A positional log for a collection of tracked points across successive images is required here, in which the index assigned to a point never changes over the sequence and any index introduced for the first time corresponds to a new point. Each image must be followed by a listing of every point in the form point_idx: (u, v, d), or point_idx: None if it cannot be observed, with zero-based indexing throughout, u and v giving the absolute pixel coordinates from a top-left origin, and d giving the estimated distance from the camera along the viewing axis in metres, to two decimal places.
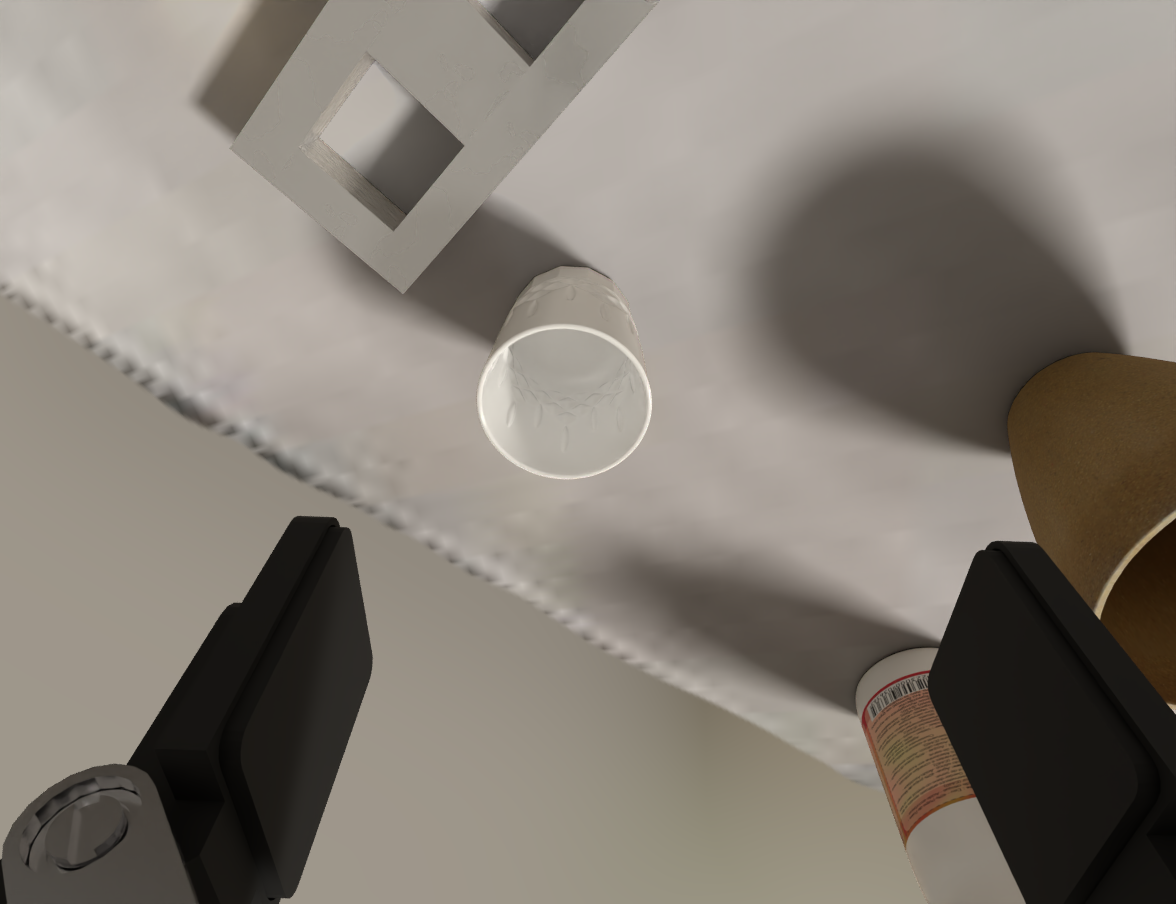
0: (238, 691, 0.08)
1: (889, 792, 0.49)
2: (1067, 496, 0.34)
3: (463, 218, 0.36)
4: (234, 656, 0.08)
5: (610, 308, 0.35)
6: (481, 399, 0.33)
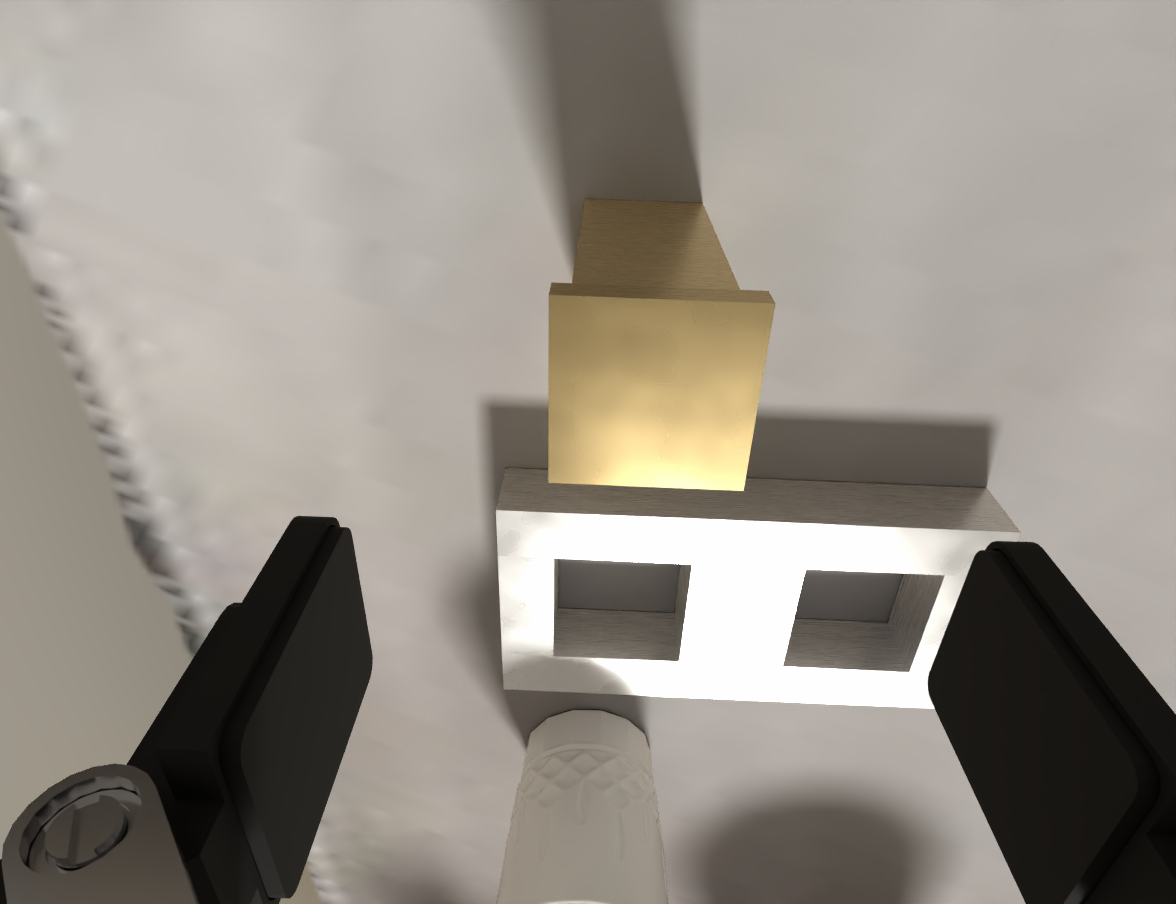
0: (238, 690, 0.08)
1: None
2: None
3: (617, 690, 0.33)
4: (234, 656, 0.08)
5: (663, 854, 0.35)
6: None
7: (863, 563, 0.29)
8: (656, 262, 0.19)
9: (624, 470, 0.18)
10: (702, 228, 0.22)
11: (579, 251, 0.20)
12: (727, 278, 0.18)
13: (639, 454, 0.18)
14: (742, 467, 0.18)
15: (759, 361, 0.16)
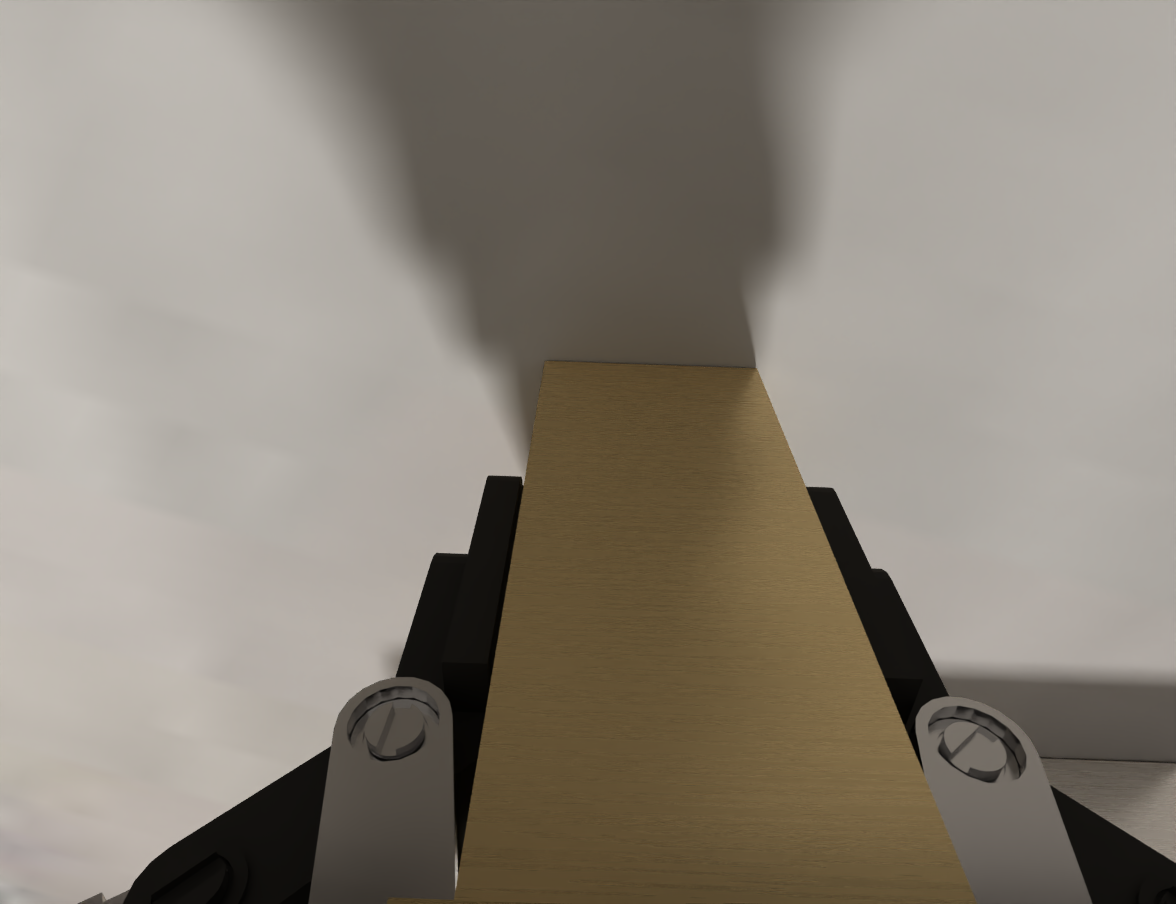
0: (496, 616, 0.09)
1: None
2: None
3: None
4: (482, 589, 0.09)
5: None
6: None
7: None
8: (693, 634, 0.08)
9: None
10: (772, 461, 0.11)
11: (514, 580, 0.09)
12: (881, 718, 0.07)
13: None
14: None
15: None
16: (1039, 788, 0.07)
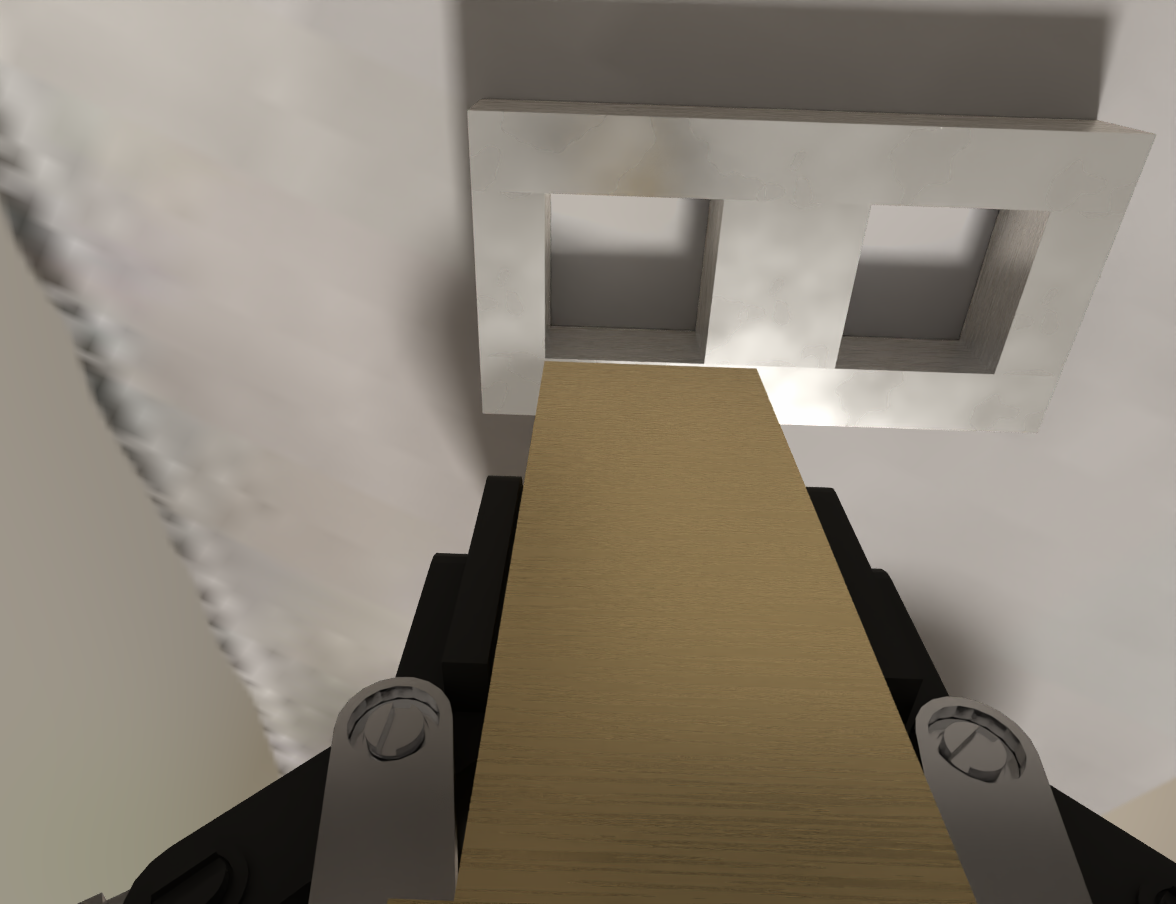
0: (495, 616, 0.09)
1: None
2: None
3: None
4: (481, 589, 0.09)
5: None
6: None
7: (947, 193, 0.22)
8: (694, 634, 0.08)
9: None
10: (772, 461, 0.11)
11: (513, 580, 0.09)
12: (881, 719, 0.07)
13: None
14: None
15: None
16: (1039, 788, 0.07)
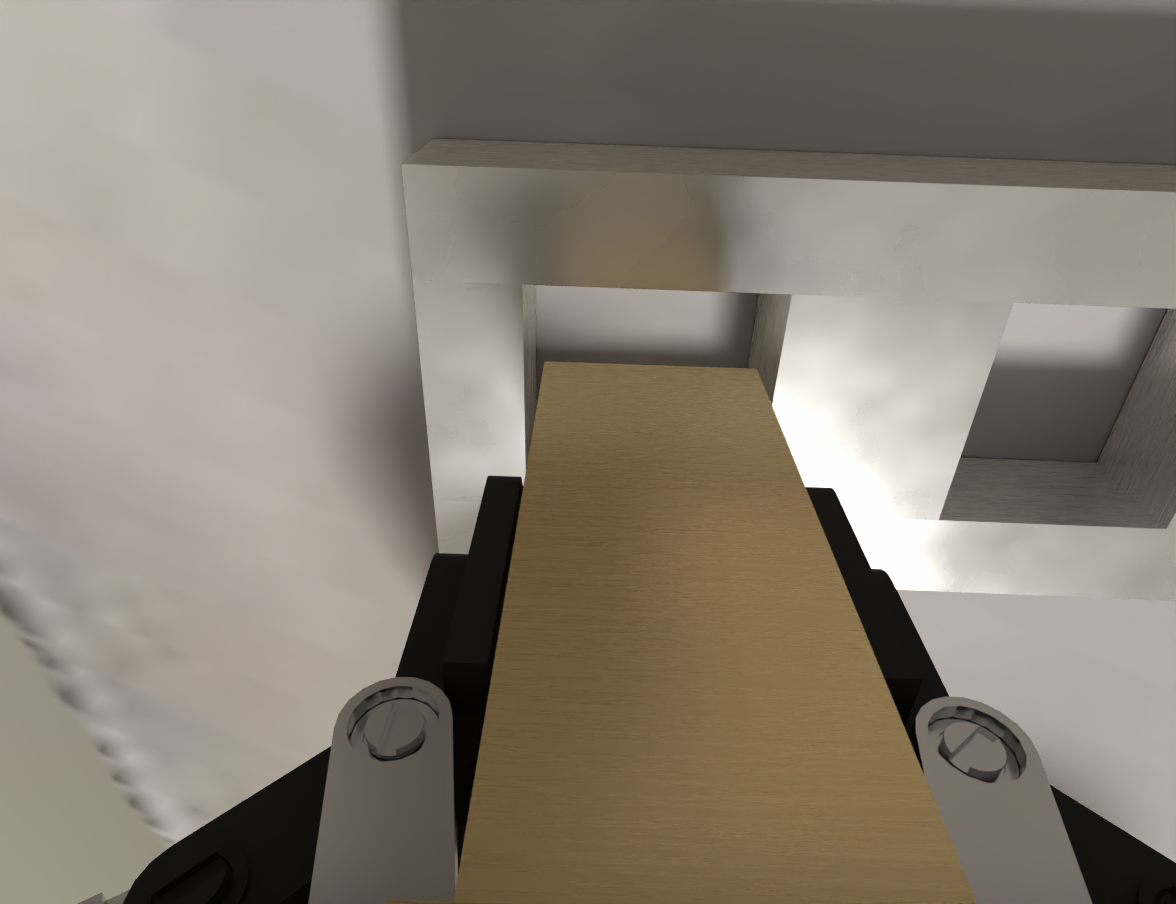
0: (495, 617, 0.09)
1: None
2: None
3: None
4: (482, 589, 0.09)
5: None
6: None
7: (1130, 287, 0.15)
8: (693, 636, 0.08)
9: None
10: (772, 461, 0.11)
11: (513, 581, 0.09)
12: (881, 719, 0.07)
13: None
14: None
15: None
16: (1038, 788, 0.07)
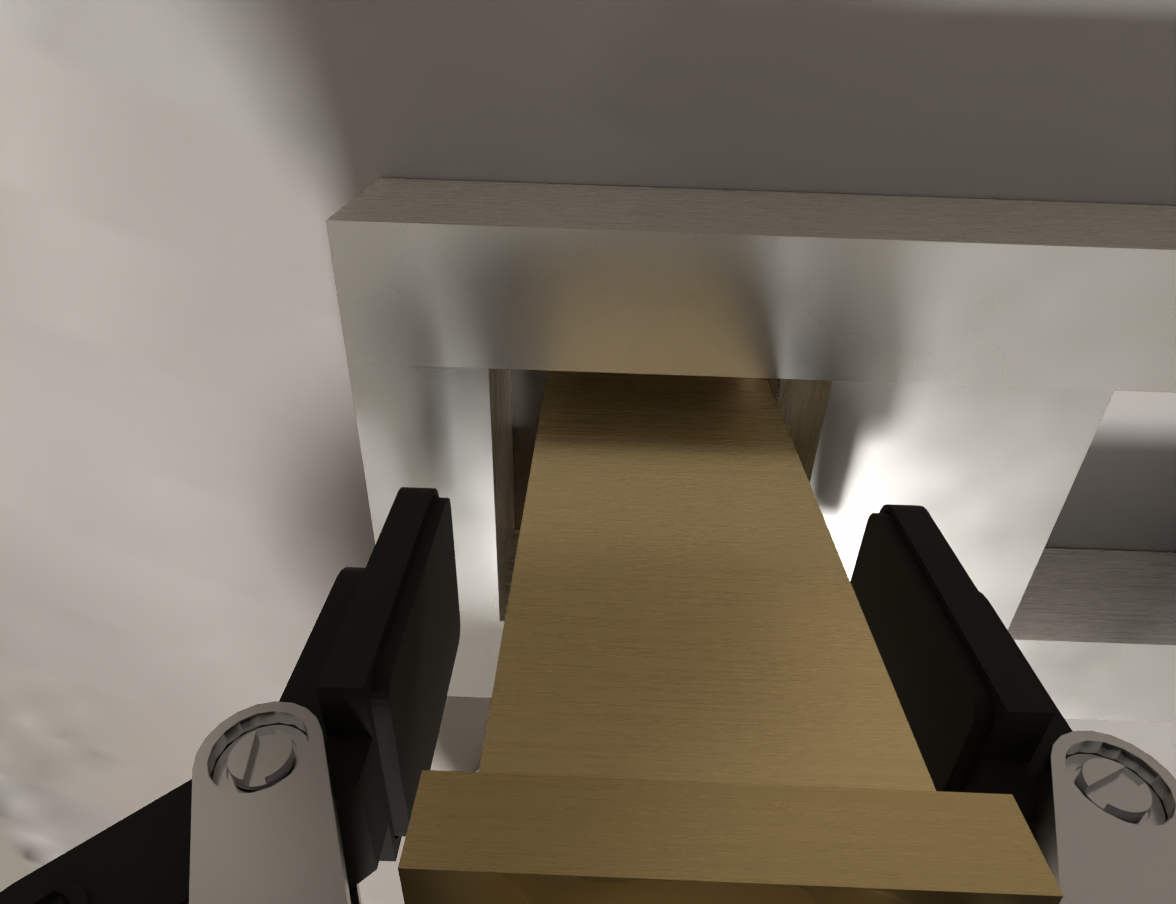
0: (382, 637, 0.08)
1: None
2: None
3: None
4: (371, 608, 0.09)
5: None
6: None
7: None
8: (689, 572, 0.09)
9: None
10: (766, 427, 0.12)
11: (526, 527, 0.10)
12: (857, 642, 0.08)
13: None
14: None
15: None
16: None
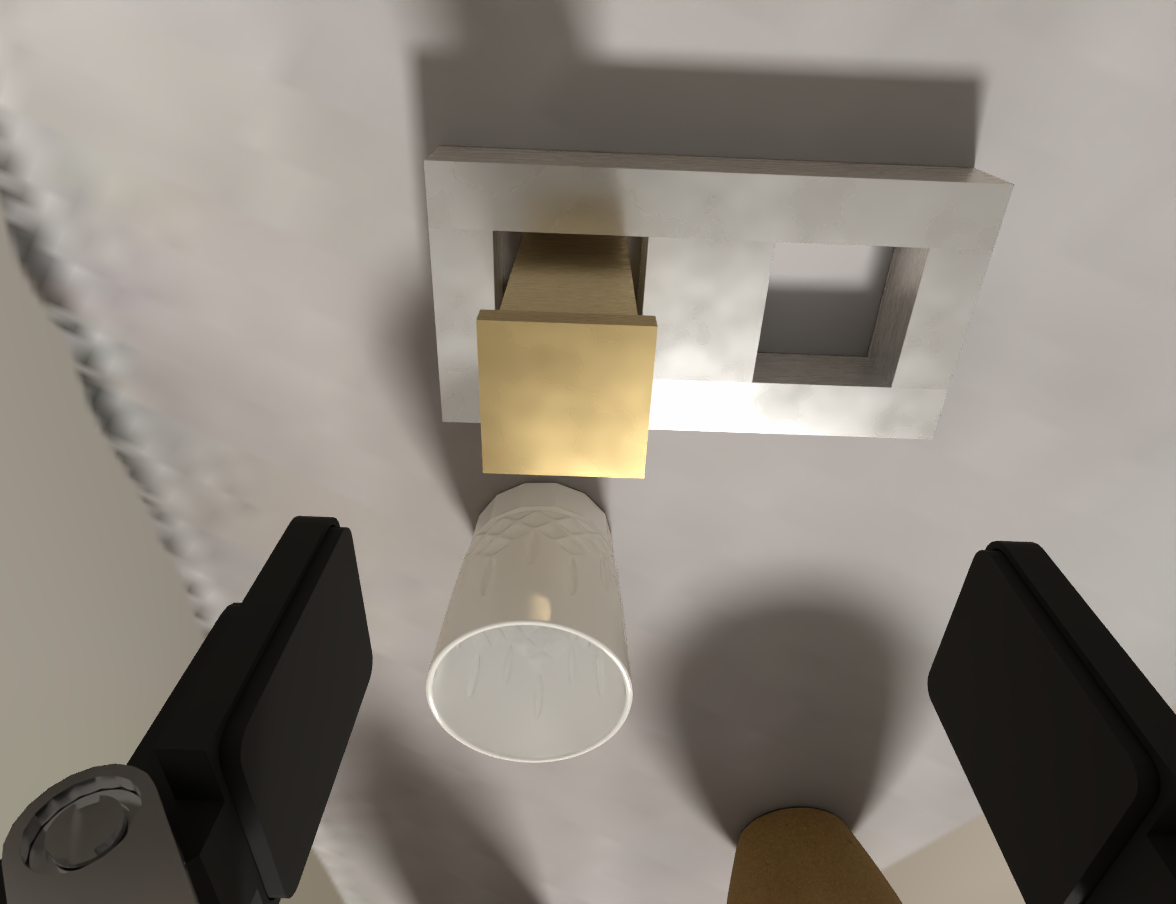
0: (238, 690, 0.08)
1: None
2: None
3: None
4: (234, 656, 0.08)
5: (623, 613, 0.31)
6: (463, 639, 0.27)
7: (840, 232, 0.26)
8: (573, 290, 0.23)
9: (545, 462, 0.22)
10: (619, 258, 0.26)
11: (510, 280, 0.24)
12: (629, 303, 0.22)
13: (556, 448, 0.22)
14: (641, 458, 0.22)
15: (648, 371, 0.20)
16: None
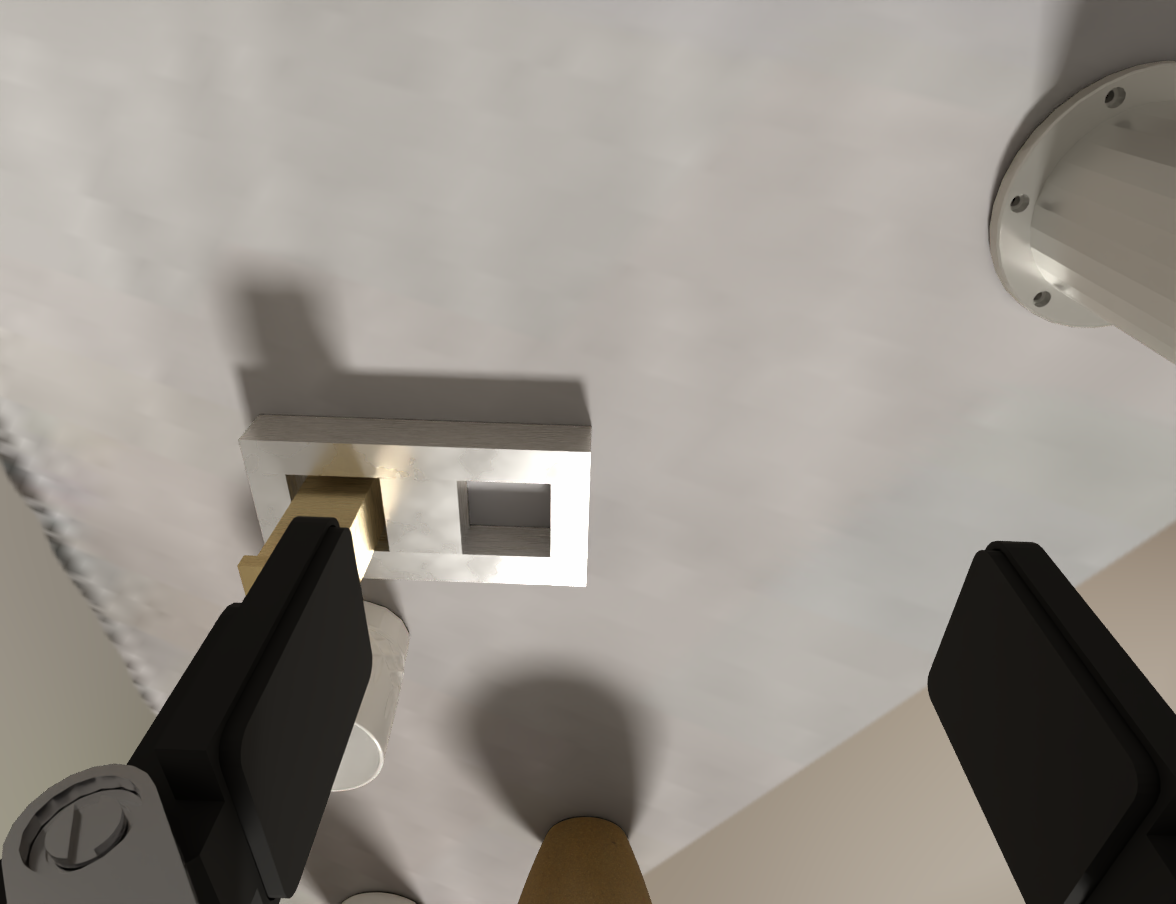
0: (238, 691, 0.08)
1: None
2: None
3: None
4: (234, 656, 0.08)
5: (393, 695, 0.48)
6: None
7: (494, 476, 0.43)
8: None
9: None
10: (362, 490, 0.43)
11: (283, 517, 0.41)
12: None
13: None
14: None
15: None
16: None
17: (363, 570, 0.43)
